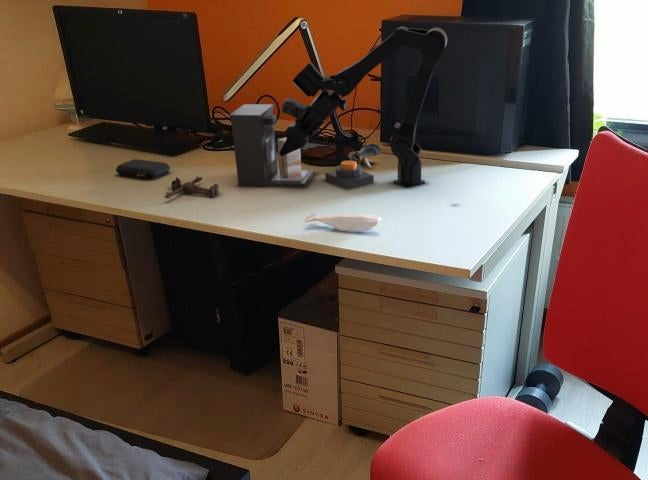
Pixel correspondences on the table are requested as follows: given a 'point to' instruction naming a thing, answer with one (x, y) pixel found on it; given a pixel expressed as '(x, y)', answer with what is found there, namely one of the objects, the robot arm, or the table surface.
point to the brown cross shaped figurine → (191, 188)
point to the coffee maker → (259, 149)
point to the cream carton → (289, 161)
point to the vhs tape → (309, 145)
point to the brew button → (348, 165)
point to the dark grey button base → (349, 177)
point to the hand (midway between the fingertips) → (283, 151)
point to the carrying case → (143, 169)
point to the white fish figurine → (347, 221)
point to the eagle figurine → (365, 154)
